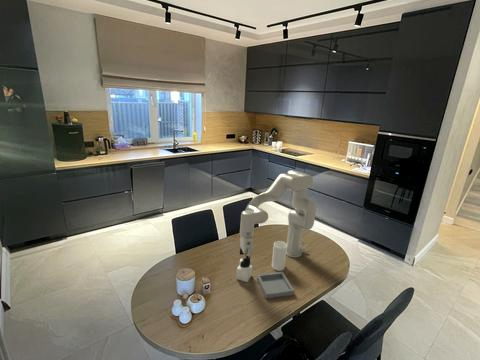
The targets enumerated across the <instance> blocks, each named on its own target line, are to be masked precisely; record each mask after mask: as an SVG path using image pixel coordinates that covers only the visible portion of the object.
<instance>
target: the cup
mask: <svg viewBox="0 0 480 360" xmlns="http://www.w3.org/2000/svg"><path fill="white" fill-rule="evenodd" d="M286 252H287V242H285V241H282V240H277V241H274V242H273V249H272V259H271V269H273V270H275V271H278V272H282V271H283V270H285V267H286V260H287V259H286V258H287V255H286Z"/></svg>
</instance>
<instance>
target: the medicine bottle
mask: <svg viewBox="0 0 480 360" xmlns="http://www.w3.org/2000/svg"><path fill="white" fill-rule="evenodd" d="M244 258H245V257H242V258H240V259H239V265H238V266H237V268H236V274H235V275H236V276H235V280H239V281H242V282H245V283H248V282H249V281H250V278H252V274H253V265H251V263H250V264H247V265H244Z"/></svg>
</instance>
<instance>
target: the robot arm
mask: <svg viewBox="0 0 480 360" xmlns="http://www.w3.org/2000/svg"><path fill="white" fill-rule="evenodd" d="M313 182H314V180H313V177H312V176H311V175H310V174H308V173H305V172H301V171H298V170H295V169H290V170H288V171H287V173H285V172H284V173H280V174H278V176H277V177H276V178H275V180H274V181H273V182H272V183H271V185H270V186H269V188H268V189H267V190H266V191H263V192H262V193H260V194H257V195H256V196H254V197H253V198H252V199H251V200H250V201H249V203H248V204H247V206H246V208H245V210H243V211H241V214H240V226H239V227H240V228H239V236H240V241H239V247H240V248H239V255H240V256H241V255H244V257H243V258H244V265H247V264H250V265H251V257H252V256H251V254H253V244H254V243H253V237H254V232H255V231H254V230H255V229H254V227H255V225H256V224H257V225H258V224H261V225H262V224H265V223H266V222H267V221H268V219H269V214H268V211H265V210H264V209H262V208H260V207H259V206H260V205H262V204H264V203H268V202H277V201H280V199H281V197H282V196H283V195H284V193H285V192H286V191H290V192H292V199H291V200H292V201H291V206H292V207H293V208H294V209H291V210H290V211H288V212H289V213H288V215H287V222H288V228H287V236H286V244H287V252H286V257H288V258H289V257H290V258H293V259H294V258H295V259H296V258H300V257H301V256H302V255H303V251H307V246H303V245H302V239H303V238H302V237H303V230H306V231H310V230H312V228H313V227H314V225H315V220H316V212H317V204H316V201H315V200H314V199H312V198H309V197H307V195H308V194H307V190H308V189H309V188H311V186H312V185H313Z"/></svg>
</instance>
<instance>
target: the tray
mask: <svg viewBox="0 0 480 360" xmlns="http://www.w3.org/2000/svg"><path fill="white" fill-rule="evenodd" d="M256 280H257V282H258V285H259V287H260V289H261V292H262V294H263V296H264V298H265V299H266V300H269V299H277V298H282V297H289V296H294V295H295V289H294V287H293V286H292V284H291V283H290V281H289V279H288V278H287V276H286V275H285V273H284V272H283V271H278V272H268V273H260V274H256Z"/></svg>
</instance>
